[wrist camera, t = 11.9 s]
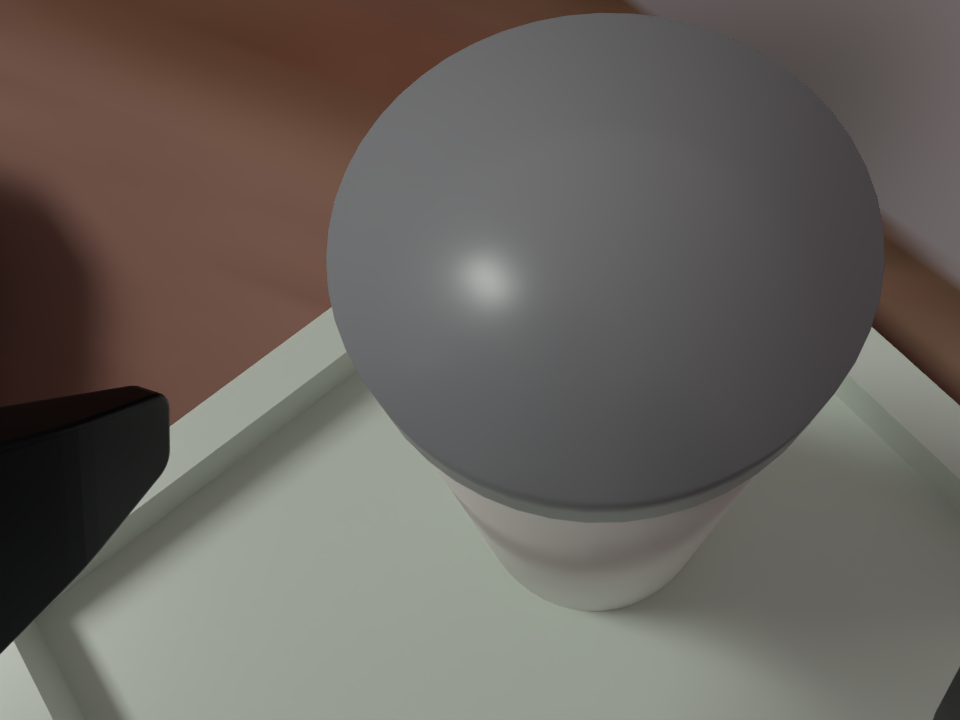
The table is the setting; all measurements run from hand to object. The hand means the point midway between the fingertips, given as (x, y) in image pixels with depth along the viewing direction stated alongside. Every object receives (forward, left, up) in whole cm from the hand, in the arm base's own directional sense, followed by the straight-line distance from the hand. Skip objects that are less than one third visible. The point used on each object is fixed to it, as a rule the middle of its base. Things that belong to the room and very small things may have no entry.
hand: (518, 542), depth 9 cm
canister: (+1, -2, -10) cm, 10 cm away
